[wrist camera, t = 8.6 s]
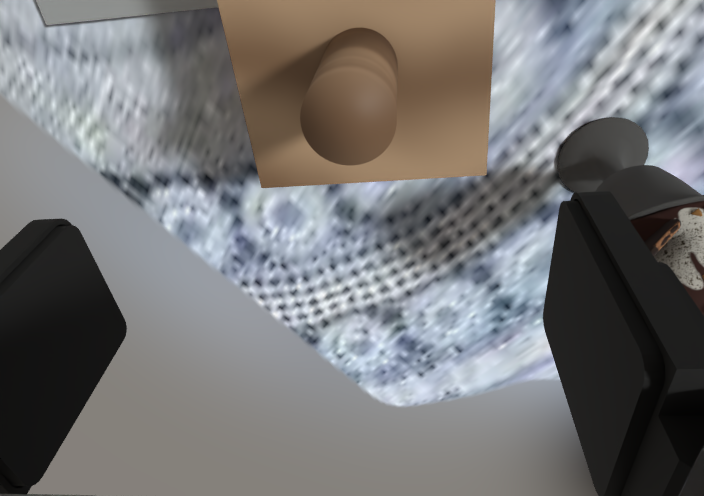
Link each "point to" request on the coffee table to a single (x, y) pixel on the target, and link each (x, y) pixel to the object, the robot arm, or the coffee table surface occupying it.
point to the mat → (113, 8)
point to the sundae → (640, 194)
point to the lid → (363, 87)
